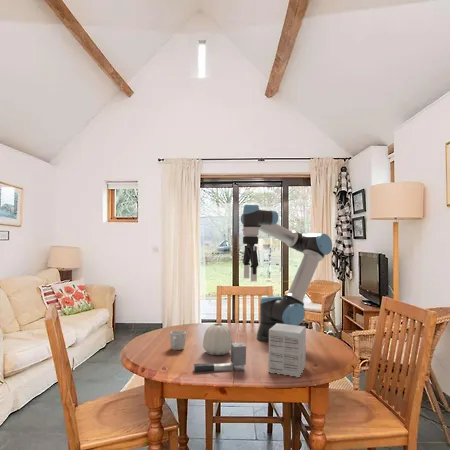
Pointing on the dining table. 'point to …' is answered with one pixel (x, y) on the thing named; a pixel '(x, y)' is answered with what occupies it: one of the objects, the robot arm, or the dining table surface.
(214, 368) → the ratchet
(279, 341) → the supplement box
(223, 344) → the vase
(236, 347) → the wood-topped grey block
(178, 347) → the cup
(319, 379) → the dining table surface
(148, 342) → the dining table surface
